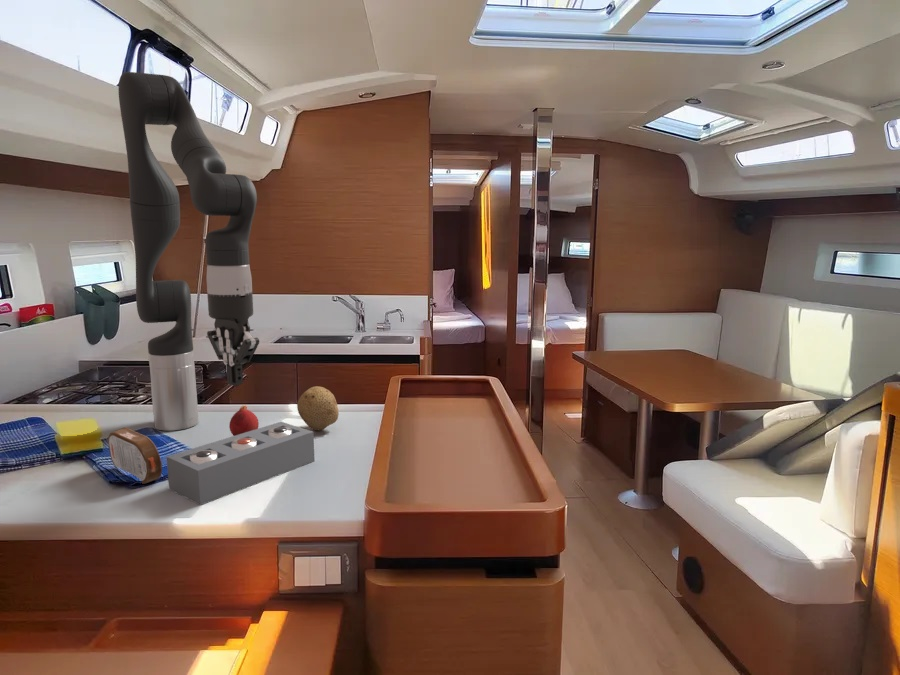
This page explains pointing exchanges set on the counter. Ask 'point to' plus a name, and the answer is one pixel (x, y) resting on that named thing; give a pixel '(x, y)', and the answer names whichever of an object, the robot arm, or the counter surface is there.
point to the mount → (239, 463)
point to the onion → (243, 421)
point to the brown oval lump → (318, 408)
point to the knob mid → (244, 443)
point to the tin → (135, 454)
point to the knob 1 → (203, 456)
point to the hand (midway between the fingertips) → (235, 384)
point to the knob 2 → (279, 432)
